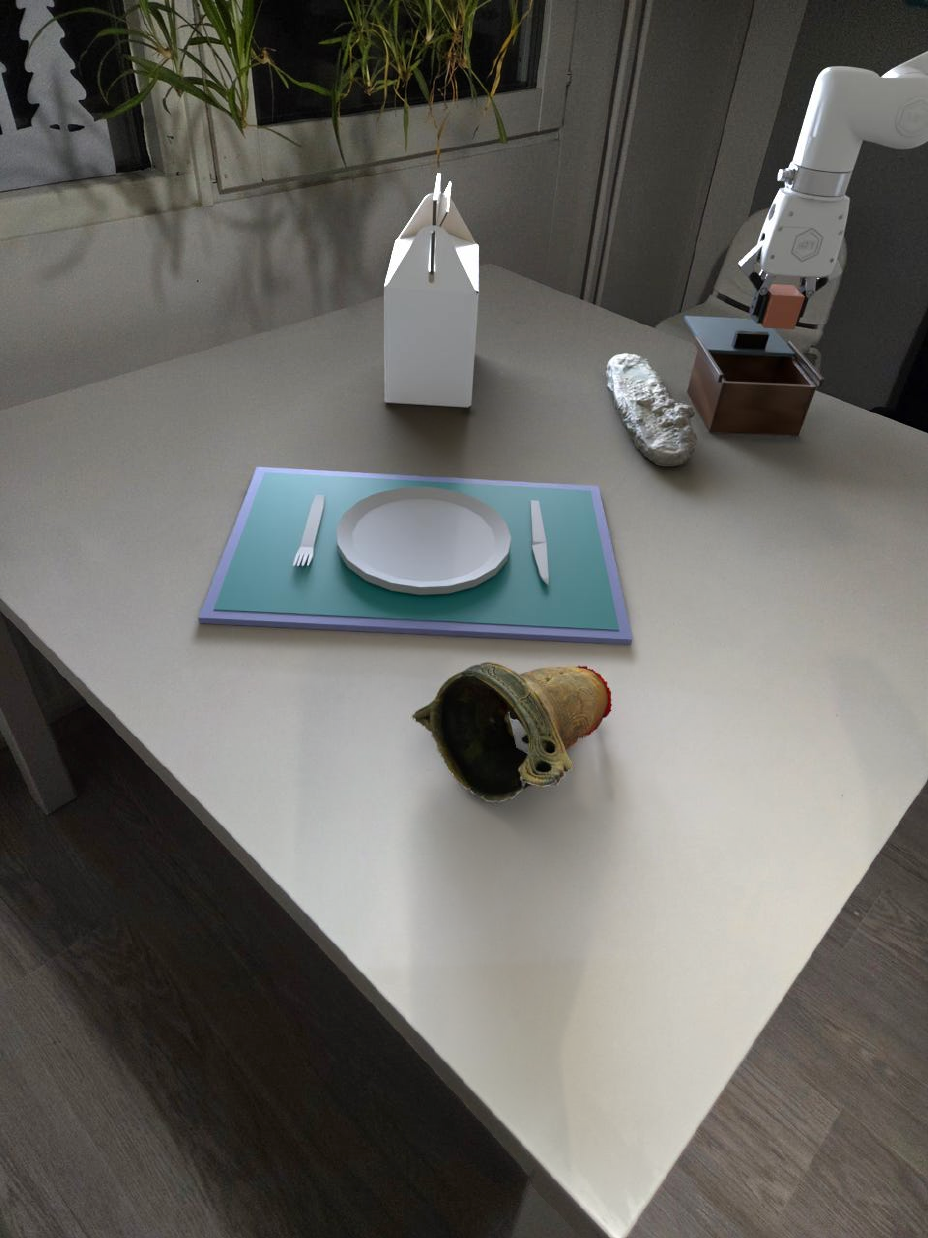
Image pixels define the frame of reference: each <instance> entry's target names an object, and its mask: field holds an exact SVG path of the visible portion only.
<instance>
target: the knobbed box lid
mask: <svg viewBox="0 0 928 1238" xmlns="http://www.w3.org/2000/svg"><path fill="white" fill-rule="evenodd" d="M684 321H685V322H686V323H685V324H687V326H688V327H689V329H690V331H691V332H692V334H693V335H694V337H695V338H696V337H700V339H701V340H702V342H703V343H704V345H705V346H706V348H707V350H708V351H709V353H713V354H735V355H757V356H779V357H792V358H794V355H795V353H794V352H793V351H792V349H791V348H790V347H789V346H788V343H787V342H786V341H785V339H784V338H783V337H782V336H781V335H780V334H779V332H778V331H777V330H776V328H763V327H762V326H761V325H760V324H756V322H755V321H754V320H753V319H752V318H742V317H741V318H739V317H722V316H721V317H719V316H718V317H717V316H701V315H700V316H698V315H696V316H695V315H684Z"/></svg>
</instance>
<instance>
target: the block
mask: <svg viewBox="0 0 928 1238" xmlns="http://www.w3.org/2000/svg"><path fill="white" fill-rule="evenodd" d="M798 289H799V288H797V287H796V286H795V285H793V284H792V285H791V284H777V283H776V284H775V283H772V285H771V287H770V288H769V290H768V296H769V301H768V304H767V307H766V311H765V314H764V317H763V321H762V323H760V325H761V326H762V327H763V328H774V329H781V330H795V328H796V326H795V325H796V322H797V319H798V316H799V313H800V310H801V307H802V304H803V301H804V298H805V296H804V295H803V294H802V293H801V292H800V291H799V290H798Z"/></svg>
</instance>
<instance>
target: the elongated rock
mask: <svg viewBox="0 0 928 1238" xmlns="http://www.w3.org/2000/svg"><path fill="white" fill-rule="evenodd" d="M605 370H606V371H605V377H606V379H607V385H606V388H607V389H608V391H609V392H610V393H611V394H612V397H613V400H614V401H613V402H614V409H615V410H616V411H618V413H619V415H620V418H621V421H622V426H623V427H624V429H625V430H626V431H627V432H628V434H629V436H630V438H631V439H632V442H634V443H635V444H634V446H635V448H636V449H637V451H640V452H641V453H642V455H643V456H644V457H645V458H647V459H648V460H649V461H651V462H652V463H654V464H655V465H657V466H661V467H675V466H677V467H678V466H681V465H684V464H686V463H687V461H688V459H689V458H690V456H693V454H694V453H695V449H696V446H697V440H698V438H697V437H698V435H697V432H696V431H695V430H694V427H693V423H692V418H693V417H694V416H695V413H696V412H695V409H694V407H693V406H691V405H688V404H685V403H682V402H677V401H676V400H675V399H673V398H670V394H669V392H668V390H667V387H666V386H664V382H663V381H662V379H661V378H660V376H658V373H657V371H656V370H653V368H652V366H650V362H649V360H648V359H647V358H644V357H643V356H641V355H638V354H635V353H634V354H633V353H628V352H624V353H621V354H620V353H618V354H615V355H614V356H612V357H611V358H610V359H609V361H608V362H607V365H606V366H605Z"/></svg>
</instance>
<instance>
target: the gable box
mask: <svg viewBox="0 0 928 1238" xmlns="http://www.w3.org/2000/svg"><path fill="white" fill-rule="evenodd" d="M435 180H436V181H435V187H434V192H431V193H429V194H426V196H425V197H424V198H423V200H422V201H421V203H420V204H419V206H418V207H417V209H416V210H415V211H414V213H413V215H412V217H411V218H410V220H409V221H408V223H407V224H406V226H405V227H404V229H403V230H402V232H401V233H400V235H399V236H398V238H397V239H396V240H395V242H394V245H393V250H392V253H391V258H390V262H389V265H388V270H387V272H386V273H387V274H386V277H385V282H384V286H383V355H384V356H383V357H384V358H383V359H384V361H383V364H384V367H383V368H384V369H383V370H384V371H383V375H384V379H383V381H384V382H383V383H384V384H383V385H384V387H383V389H384V393H383V394H384V396H383V397H384V403H386V404H400V405H401V404H403V405H416V406H432V407H433V406H435V407H449V408H450V407H452V408H465V409H466V408H467V409H469V408H471V407H472V397H473V384H474V369H475V357H476V355H475V354H476V340H477V329H478V328H477V327H478V311H479V299H480V298H479V296H480V255H479V254H480V245H479V244H477V242H476V240H475V239H474V236H473V235H472V233H471V231H470V230H469V227H468V225H467V224H466V222H465V220H464V218H463V216H462V215H461V213H460V211H459V209H458V207H457V205H456V203H455V201H454V200H453V198H452V196H451V191H452V189H451V188H452V182H451V181H449V182H448V185H447V187H446V188H445V191H444V192H441V183H442V182H441V181H442V174H441V173H437V175H436V179H435Z"/></svg>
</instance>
